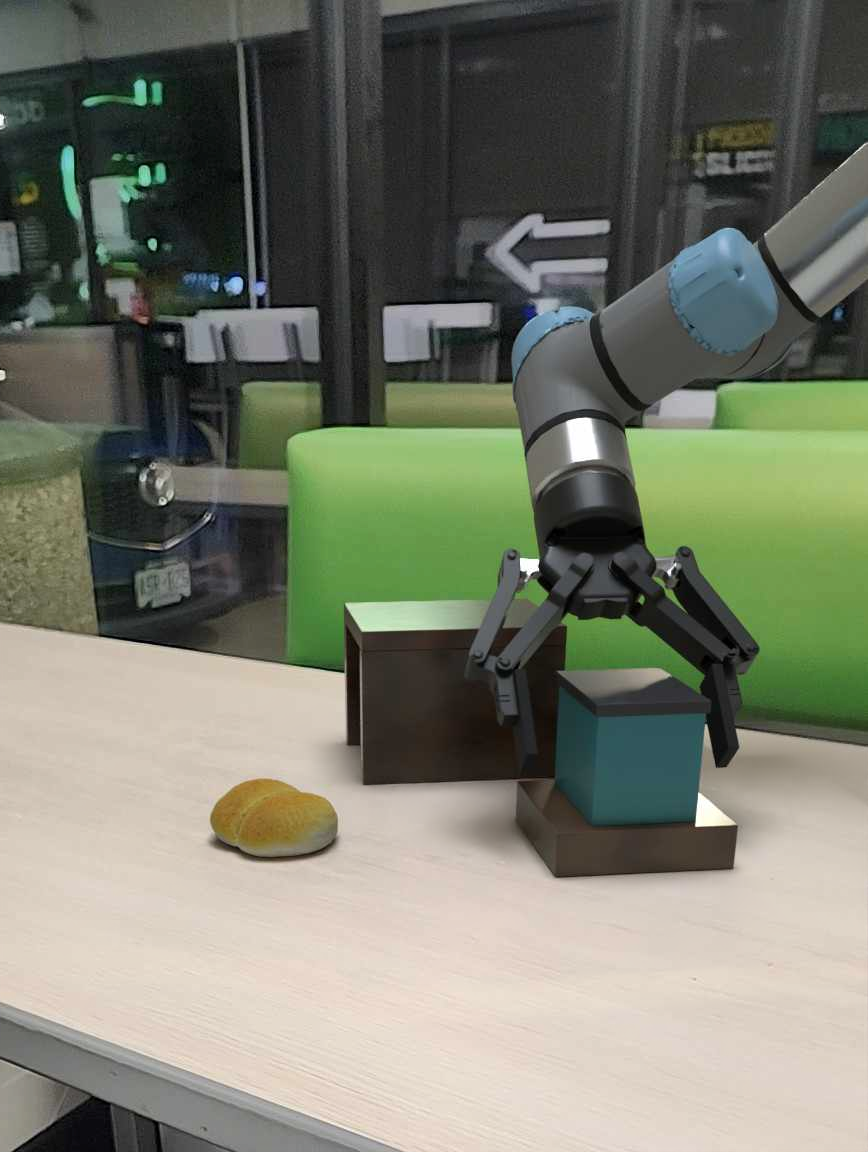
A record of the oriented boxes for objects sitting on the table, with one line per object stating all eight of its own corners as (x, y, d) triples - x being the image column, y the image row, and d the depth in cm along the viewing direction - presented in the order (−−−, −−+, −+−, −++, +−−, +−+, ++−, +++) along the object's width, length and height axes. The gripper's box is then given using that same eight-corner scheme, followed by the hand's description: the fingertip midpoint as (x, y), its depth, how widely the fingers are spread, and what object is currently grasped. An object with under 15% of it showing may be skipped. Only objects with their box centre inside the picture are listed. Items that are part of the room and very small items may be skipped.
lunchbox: (651, 778, 96) (659, 667, 93) (700, 822, 86) (711, 700, 83) (550, 782, 95) (556, 670, 92) (589, 827, 86) (596, 704, 82)
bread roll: (273, 869, 87) (271, 811, 86) (193, 837, 93) (190, 783, 92) (365, 841, 93) (365, 785, 91) (284, 812, 99) (282, 760, 97)
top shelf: (521, 734, 120) (527, 598, 115) (559, 776, 107) (567, 625, 102) (345, 740, 118) (343, 602, 113) (363, 784, 105) (361, 631, 100)
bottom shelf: (674, 813, 98) (678, 774, 97) (733, 868, 87) (738, 824, 86) (515, 820, 97) (516, 780, 95) (555, 877, 86) (557, 833, 85)
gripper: (734, 535, 101) (788, 782, 93) (408, 540, 98) (436, 795, 90) (769, 464, 94) (830, 725, 86) (419, 468, 91) (451, 738, 83)
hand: (628, 762), depth 88 cm, fingers open, 13 cm apart
